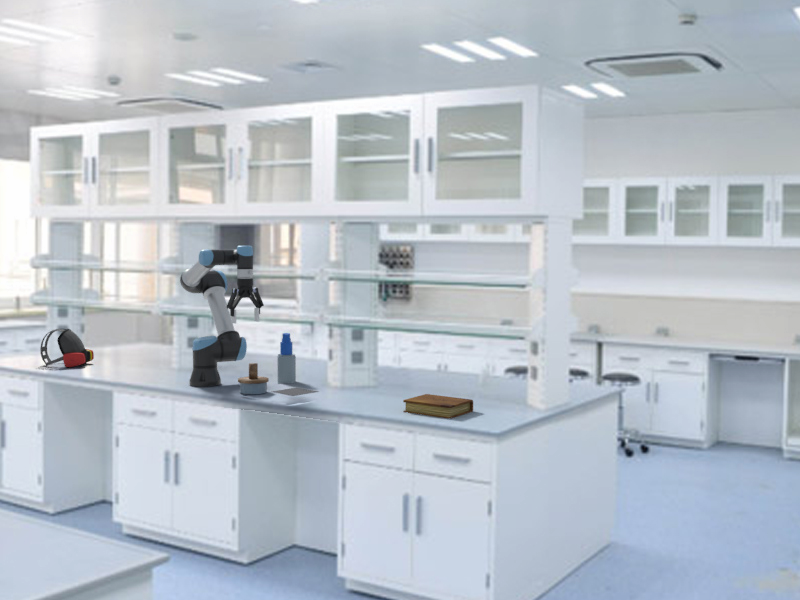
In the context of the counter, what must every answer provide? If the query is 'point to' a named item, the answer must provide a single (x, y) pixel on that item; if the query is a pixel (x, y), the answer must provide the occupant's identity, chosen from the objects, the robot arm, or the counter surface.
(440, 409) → the diary
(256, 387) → the bowl
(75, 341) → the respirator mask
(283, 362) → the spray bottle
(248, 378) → the lid
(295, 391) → the mat
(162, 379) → the counter surface
